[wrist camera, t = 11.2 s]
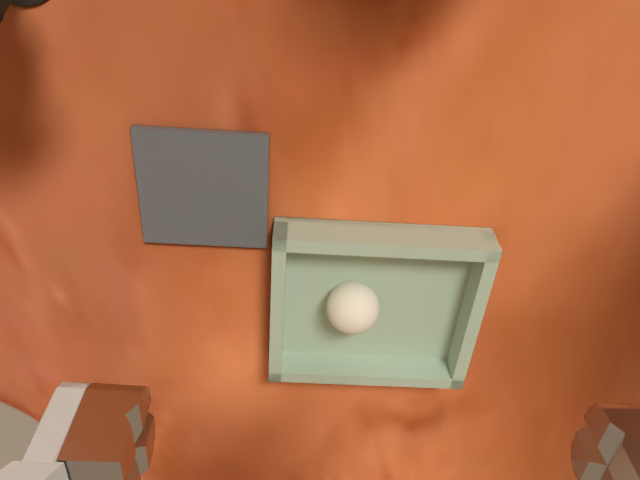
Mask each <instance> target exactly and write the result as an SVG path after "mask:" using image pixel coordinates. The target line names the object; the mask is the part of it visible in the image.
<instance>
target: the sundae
mask: <svg viewBox="0 0 640 480" xmlns="http://www.w3.org/2000/svg"><path fill="white" fill-rule="evenodd" d="M45 1H46V0H0V22H1V21H2V19H3V16H4V14H5V12H6V10H7V9H8V7H9V5H10V4H13V5H17V6H23V7H29V6H35V5H39V4H42V3H43V2H45Z"/></svg>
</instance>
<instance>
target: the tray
mask: <svg viewBox="0 0 640 480" xmlns="http://www.w3.org/2000/svg"><path fill="white" fill-rule="evenodd" d="M502 252H503V251H502V249H501V247H500V245H499V243H498V241H497V238H496V236H495V234H494V232H493V230H492V228H482V227H463V226H444V225H425V224H406V223H387V222H368V221H349V220H330V219H311V218H292V217H275V218H274V227H273V237H272V267H271V304H270V341H269V379H268V381H269V382H294V383H319V384H345V385H370V386H395V387H420V388H445V389H462V387H463V383H464V380H465V377H466V373H467V370H468V366H469V363H470V360H471V356H472V353H473V350H474V346H475V343H476V339H477V336H478V333H479V329H480V326H481V323H482V319H483V316H484V312H485V309H486V306H487V302H488V299H489V296H490V292H491V289H492V285H493V282H494V279H495V275H496V272H497V269H498V265H499V262H500V258H501V255H502ZM348 281H357V282H361V283H364V284H366V285H367V286H369V287H370V288H371V289H372V290H373V291H374V292H375V294H376V296H377V298H378V301H379V315H378V318H377V320H376V322H375V323H374V325H373V326H372V327H371V328H370V329H369V330H367V331H366V332H363V333H361V334H356V335H350V334H345V333H342V332H340V331H339V330H337V329H336V328H335V327H334V326H333V325H332V324H331V322H330V321H329V319H328V316H327V312H326V304H327V300H328V297H329V295H330V293H331V292H332V291H333V289H334V288H336V287H337V286H338V285H340V284H342V283H344V282H348Z"/></svg>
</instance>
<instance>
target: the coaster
mask: <svg viewBox="0 0 640 480" xmlns="http://www.w3.org/2000/svg"><path fill="white" fill-rule="evenodd" d="M130 131H131V140H132V148H133V156H134V164H135V173H136V181H137V189H138V197H139V205H140V214H141V222H142V230H143V238H144V242H149V243H169V244H189V245H209V246H229V247H249V248H267V227H268V179H269V133H260V132H244V131H227V130H210V129H193V128H176V127H159V126H142V125H132V126H131V127H130Z"/></svg>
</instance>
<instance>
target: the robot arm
mask: <svg viewBox="0 0 640 480" xmlns="http://www.w3.org/2000/svg"><path fill="white" fill-rule="evenodd" d="M150 402H151V396H150V390H149V387H146V386H133V385H117V384H102V383H82V382H64V381H62V383H61V384H60V385H59V386H58V387H57V388H56V389H55V391H54V393H53V395H52V397H51V399H50V401H49V403H48V405H47V408H46V410H45V412H44V414H43V416H42V418H41V420H40V422H39V424H38V426H37V429H36V431H35V433H34V435H33V437H32V439H31V441H30V443H29V445H28V447H27V449H26V451H25V454H24V456H23V458H22V460H16V461H15V460H13V461H11V462H10V463H8V464H7V465H6V466H4V467H3V468H2V469H1V470H0V480H141V478H140V476H141V475H142V474H143V473H144V472H145V471H147V470H148V469H149V465H150V461H151V457H152V453H153V445H154V438H155V424H154V416H153V415H152V414H150V413H149V412H148V409H149V406H150ZM584 418H585V420H586V422H587V424H588V425H587V426H585V427H583V428H582V429H580V430H579V431H577V432H576V434H575V437H574V439H573V441H572V444H571V461H572V466H573V471H574V473H575V476H576V478H577V480H640V405H639V404H601V403H594V404H593V405H591V406H590V407H588V409H587V411H586V413H585V415H584Z"/></svg>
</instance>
